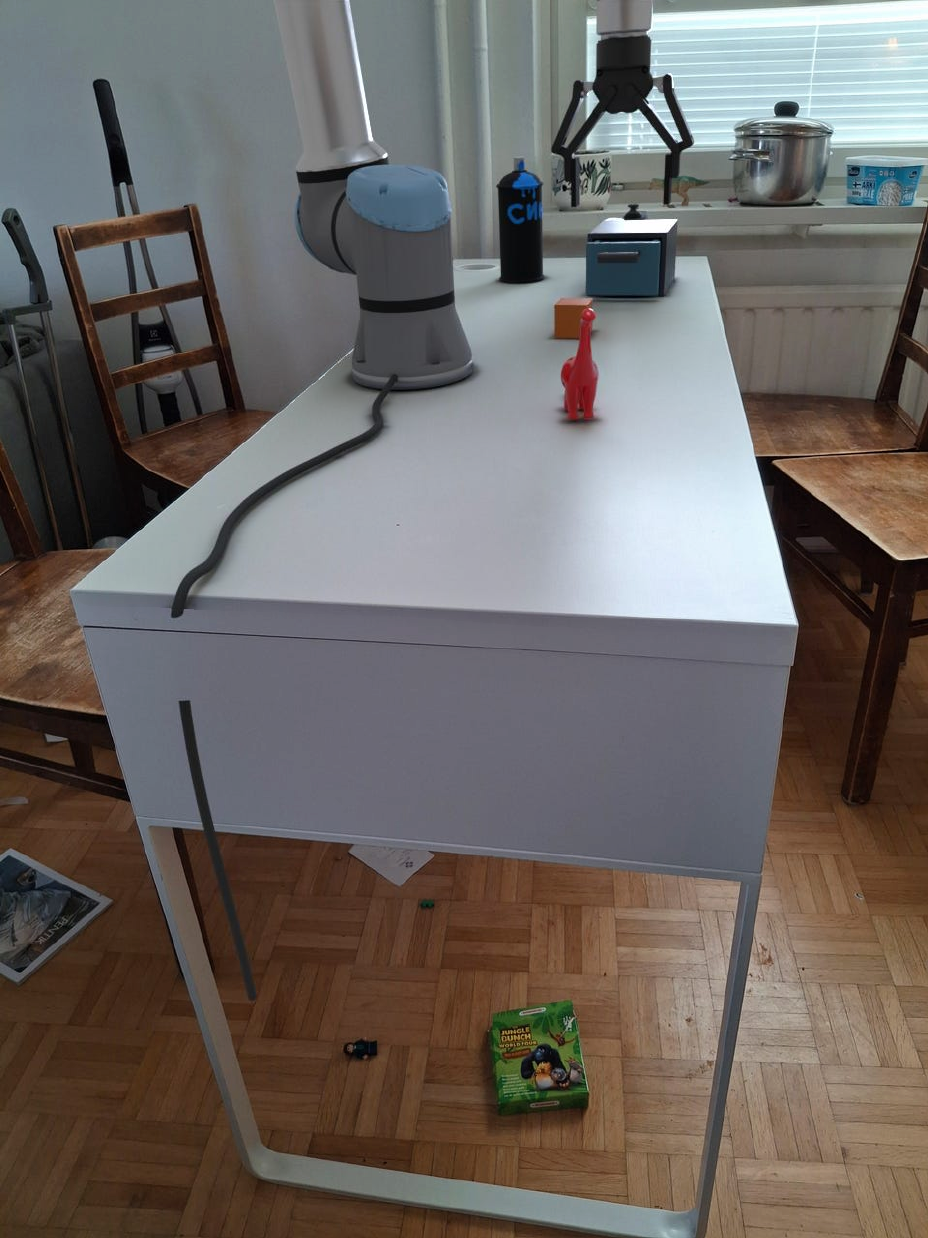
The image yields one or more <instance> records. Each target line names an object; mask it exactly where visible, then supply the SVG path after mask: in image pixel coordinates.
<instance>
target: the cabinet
mask: <svg viewBox="0 0 928 1238" xmlns="http://www.w3.org/2000/svg"><path fill="white" fill-rule="evenodd" d="M678 221H679V219H676V218H675V219H647V220H620V221H604V220H603V221H601V222H602V223H601V222H600V223H599V224H598V225H596V226H595V227H594V228H592V229H591V230H590V231H589V232H587V242H586V243H588V242H595V241H596V240H597V239H599V238H662V247H661V268H660V283H659V287H658V295H586V296H590V297H591V296H593V297H594V296H596V297H597V296H601V297H604V296H605V297H607V296H608V297H609V296H611V297H633V296H634V297H665V295H666V293H667V292H668V290H669V289H670V287H671V285H672V284H673V282H674V280H675V278H676V277H675V275H676V258H677V239H678V223H679V222H678Z"/></svg>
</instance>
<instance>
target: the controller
mask: <svg viewBox="0 0 928 1238" xmlns="http://www.w3.org/2000/svg"><path fill="white" fill-rule="evenodd" d="M639 207H640V204H639V203H629V204H628V205H627V208H629V210H628V211H627V212H626V213H625V214H624V215H623V216H622V217H621V218H622V219H624V220H649V219H648V213H647V211H646V210H637V208H639Z"/></svg>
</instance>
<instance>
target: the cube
mask: <svg viewBox="0 0 928 1238" xmlns="http://www.w3.org/2000/svg"><path fill="white" fill-rule="evenodd" d="M593 301H594V298H593V297H592V298H591V297H582V298H581V297H576V298H575V297H561V298H560V299H559V300H557V302H556V303H555V304H554V305H553V307H554V311H553V312H554V313H553V319H554V321H553V323H554V324H553V325H554V327H553V328H554V332H553V333H554V339H580V328H581V315H582V311H583V310H584V309H592V310H593V309H594V302H593ZM593 311H594V310H593ZM592 332H593V324H592V325H591V329H590V334H592Z"/></svg>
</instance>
